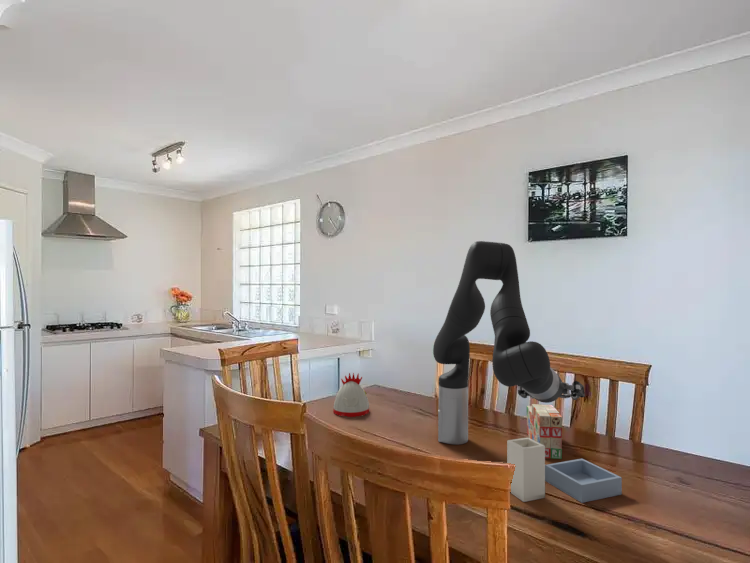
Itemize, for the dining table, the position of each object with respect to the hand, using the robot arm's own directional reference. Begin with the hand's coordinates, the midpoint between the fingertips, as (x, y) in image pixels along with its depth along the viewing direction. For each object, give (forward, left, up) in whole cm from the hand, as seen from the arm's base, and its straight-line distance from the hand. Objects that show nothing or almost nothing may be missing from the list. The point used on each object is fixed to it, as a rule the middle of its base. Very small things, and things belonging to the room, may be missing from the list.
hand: (556, 395), depth 111 cm
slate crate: (+6, -1, -22) cm, 22 cm away
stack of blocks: (+2, +27, -22) cm, 35 cm away
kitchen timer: (-64, +52, -22) cm, 86 cm away
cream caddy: (-8, -7, -22) cm, 24 cm away
